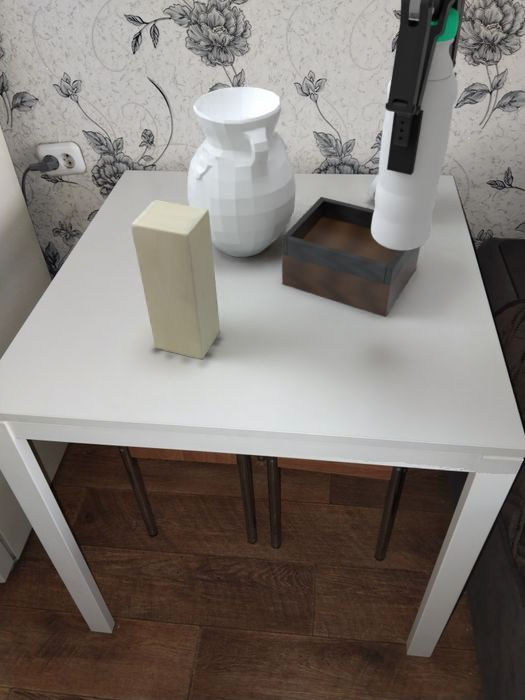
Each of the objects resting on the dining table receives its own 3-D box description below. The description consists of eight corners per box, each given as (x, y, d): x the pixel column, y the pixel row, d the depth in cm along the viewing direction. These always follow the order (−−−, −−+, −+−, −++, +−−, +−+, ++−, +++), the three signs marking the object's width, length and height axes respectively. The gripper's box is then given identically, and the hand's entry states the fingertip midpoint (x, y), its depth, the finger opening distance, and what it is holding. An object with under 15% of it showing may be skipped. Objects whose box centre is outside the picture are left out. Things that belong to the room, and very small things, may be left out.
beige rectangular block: (223, 328, 90) (211, 205, 75) (204, 360, 85) (186, 235, 70) (176, 317, 92) (155, 196, 77) (154, 348, 87) (127, 225, 72)
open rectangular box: (416, 268, 99) (424, 222, 93) (385, 317, 90) (392, 269, 84) (319, 241, 106) (321, 196, 99) (282, 284, 97) (281, 237, 91)
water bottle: (360, 227, 74) (383, 3, 57) (411, 216, 76) (448, -5, 58) (386, 258, 69) (419, 24, 52) (439, 246, 71) (489, 14, 53)
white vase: (314, 253, 103) (319, 110, 86) (217, 283, 98) (201, 137, 80) (268, 205, 115) (264, 71, 98) (179, 229, 110) (158, 92, 93)
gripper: (444, -121, 57) (409, 116, 73) (365, -88, 44) (344, 188, 60) (525, -119, 54) (470, 127, 70) (464, -83, 42) (415, 205, 58)
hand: (412, 155), depth 65 cm, fingers closed on water bottle, 7 cm apart
